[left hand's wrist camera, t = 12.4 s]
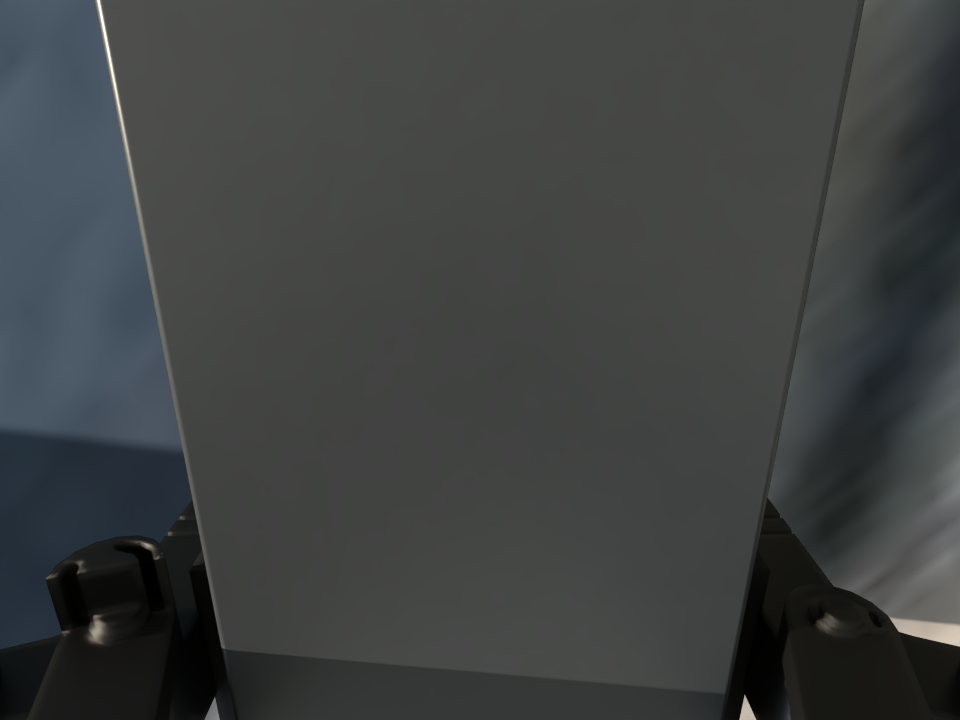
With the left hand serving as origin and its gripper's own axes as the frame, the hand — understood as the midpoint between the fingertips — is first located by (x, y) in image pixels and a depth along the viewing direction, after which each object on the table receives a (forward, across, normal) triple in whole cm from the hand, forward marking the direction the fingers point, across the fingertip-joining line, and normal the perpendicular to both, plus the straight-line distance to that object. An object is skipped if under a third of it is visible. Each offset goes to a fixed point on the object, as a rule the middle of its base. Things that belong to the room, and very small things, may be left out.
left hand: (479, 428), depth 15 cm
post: (0, 0, -23) cm, 23 cm away
